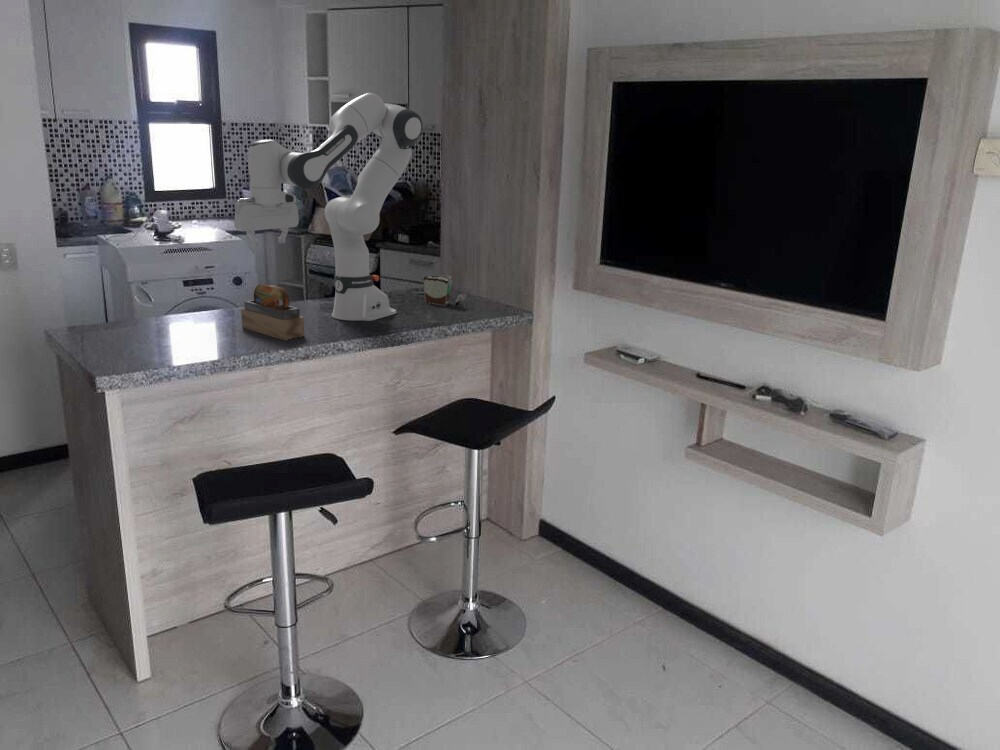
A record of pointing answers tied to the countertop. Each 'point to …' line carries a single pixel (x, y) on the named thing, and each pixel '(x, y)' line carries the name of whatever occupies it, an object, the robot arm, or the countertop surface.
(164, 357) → the countertop surface
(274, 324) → the open rectangular box
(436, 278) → the food container
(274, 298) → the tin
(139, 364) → the countertop surface
